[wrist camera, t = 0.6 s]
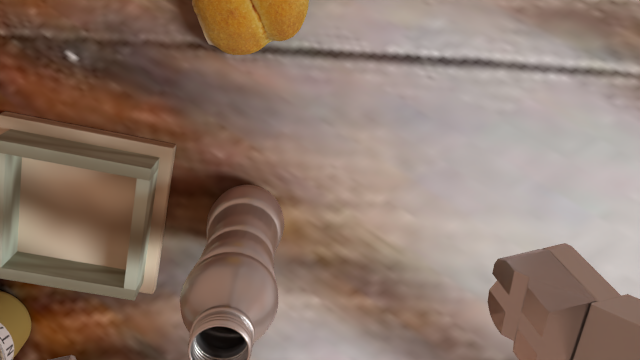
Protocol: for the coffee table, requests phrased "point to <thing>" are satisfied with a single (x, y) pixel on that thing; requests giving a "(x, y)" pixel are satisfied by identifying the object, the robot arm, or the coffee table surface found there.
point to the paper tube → (12, 326)
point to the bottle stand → (81, 206)
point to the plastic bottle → (234, 276)
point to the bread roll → (249, 22)
